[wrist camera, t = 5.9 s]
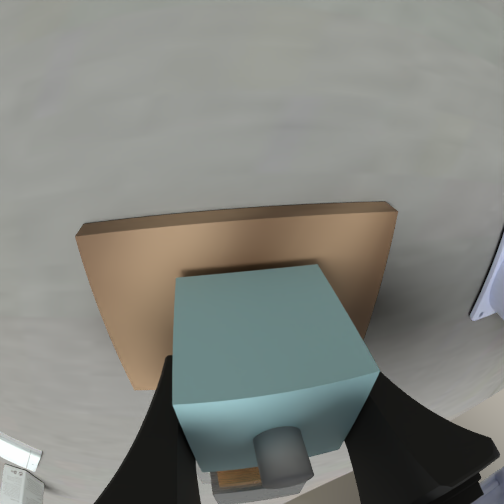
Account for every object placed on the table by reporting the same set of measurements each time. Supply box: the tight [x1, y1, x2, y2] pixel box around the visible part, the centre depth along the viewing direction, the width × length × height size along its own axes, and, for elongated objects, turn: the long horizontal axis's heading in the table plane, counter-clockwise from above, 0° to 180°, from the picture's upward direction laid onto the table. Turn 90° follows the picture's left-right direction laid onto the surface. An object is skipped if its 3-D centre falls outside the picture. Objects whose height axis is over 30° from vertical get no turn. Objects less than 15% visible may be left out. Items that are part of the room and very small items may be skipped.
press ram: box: [210, 467, 306, 504], centre depth 18 cm, size 6×5×4 cm
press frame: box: [75, 202, 398, 484], centre depth 16 cm, size 12×22×3 cm, turn 0°
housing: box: [172, 264, 380, 489], centre depth 9 cm, size 5×5×6 cm
